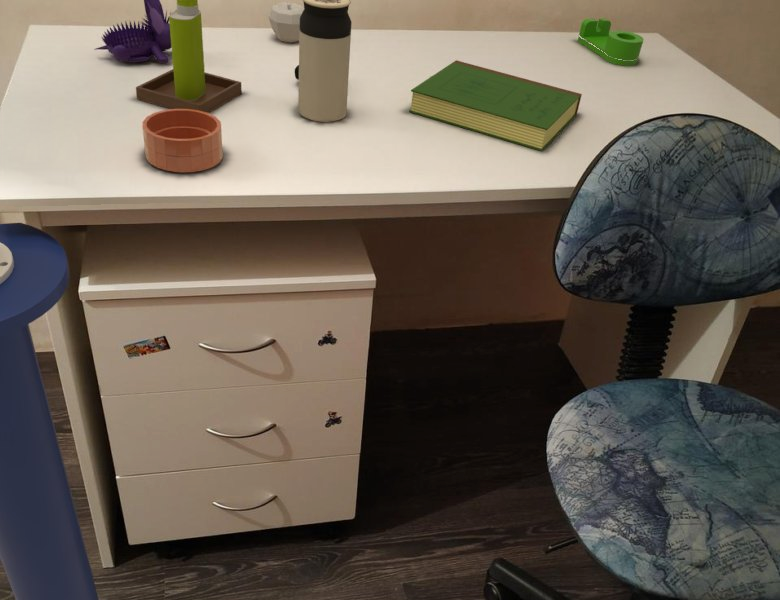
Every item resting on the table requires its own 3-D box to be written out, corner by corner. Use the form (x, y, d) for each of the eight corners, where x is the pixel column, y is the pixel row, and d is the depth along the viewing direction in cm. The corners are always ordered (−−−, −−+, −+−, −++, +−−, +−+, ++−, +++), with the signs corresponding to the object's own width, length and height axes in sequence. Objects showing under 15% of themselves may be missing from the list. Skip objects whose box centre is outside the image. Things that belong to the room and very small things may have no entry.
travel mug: (311, 126, 129) (314, 7, 117) (290, 107, 134) (291, -9, 122) (354, 119, 132) (362, 3, 120) (332, 101, 137) (337, -13, 125)
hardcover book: (576, 114, 143) (581, 94, 140) (542, 151, 130) (547, 128, 127) (449, 79, 150) (452, 59, 148) (404, 110, 137) (407, 88, 135)
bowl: (194, 181, 112) (192, 147, 108) (130, 161, 114) (126, 127, 111) (236, 153, 119) (235, 120, 116) (175, 135, 122) (172, 102, 119)
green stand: (643, 64, 167) (650, 41, 164) (615, 66, 164) (621, 43, 161) (603, 40, 177) (609, 18, 174) (576, 41, 174) (581, 19, 171)
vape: (208, 89, 135) (201, -42, 122) (194, 102, 130) (184, -33, 117) (187, 85, 135) (178, -46, 122) (172, 98, 131) (161, -37, 118)
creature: (201, 65, 144) (196, -7, 136) (95, 67, 139) (84, -8, 131) (195, 48, 150) (190, -22, 142) (93, 49, 145) (82, -24, 137)
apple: (311, 47, 156) (312, 11, 152) (271, 46, 155) (271, 10, 150) (305, 33, 162) (306, -2, 158) (266, 32, 160) (266, -3, 156)
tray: (200, 117, 127) (199, 105, 126) (136, 99, 130) (135, 87, 129) (241, 93, 136) (241, 82, 135) (181, 77, 139) (180, 65, 138)
